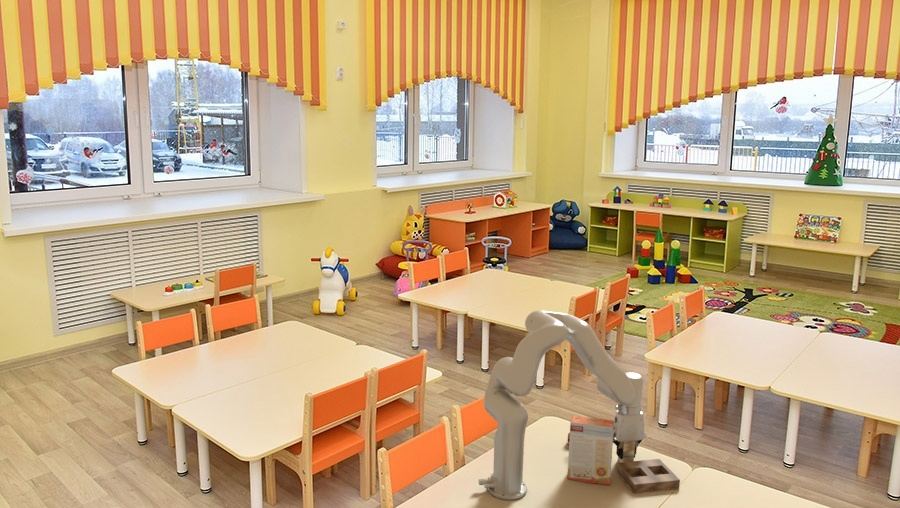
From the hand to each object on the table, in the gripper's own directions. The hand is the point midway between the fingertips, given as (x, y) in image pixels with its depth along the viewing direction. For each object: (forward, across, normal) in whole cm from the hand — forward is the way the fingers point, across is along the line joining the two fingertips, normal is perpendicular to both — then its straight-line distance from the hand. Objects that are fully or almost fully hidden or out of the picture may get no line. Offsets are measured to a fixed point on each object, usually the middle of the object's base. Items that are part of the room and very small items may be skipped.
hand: (626, 455), depth 248 cm
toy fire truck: (+3, -13, +11) cm, 17 cm away
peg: (+2, 0, 0) cm, 2 cm away
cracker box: (+3, -17, -8) cm, 19 cm away
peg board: (+2, +2, -12) cm, 12 cm away
